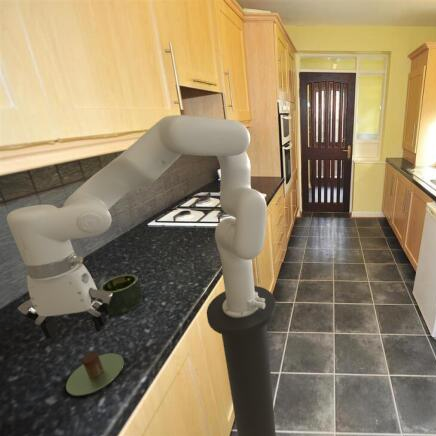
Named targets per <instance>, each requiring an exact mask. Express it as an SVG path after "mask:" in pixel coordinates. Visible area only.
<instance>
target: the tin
mask: <svg viewBox="0 0 436 436" xmlns="http://www.w3.org/2000/svg"><path fill="white" fill-rule="evenodd" d="M118 289H121V290H118ZM99 290H100V291H104V292H109V293H112V294H113V296H112V299H111V301H110V304H109V305H108V307H107V308H106V309H105V310H106V312H107V313H108V314H110V315H122V314H125V313H129V312H131V311H133V310H134V309H135V310H136V308H138V307H139V306H140V305H141V304H142V303H143V301H144V296H143V293H142V289H141V285H140V282H139V278H138V276H137V275H135V274H121V275H117V276H114V277H112V278H109V279H107V280H106V281H105V282H103V283H102V284H101V285H100V287H99Z"/></svg>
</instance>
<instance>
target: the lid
mask: <svg viewBox="0 0 436 436" xmlns="http://www.w3.org/2000/svg"><path fill="white" fill-rule="evenodd" d="M81 362H82V364H81V365H80V366H78V368H76V369H75V370H74V371H73V372H72V373H71V374H70V376H69V377H68V379H67V380H66V384H65V389H66V393H68V394H69V395H70V396H73V397H85V396H89V395H92V394H94V393H97V392H99V391H101V390H103V389H104V388H106V387H108V385H110V384H111V383H113V381H115V380H116V378H118V376H119V375H120V374H121V372H122V371H123V368H124V365H125V360H124V357H122V355H120V354H118V353H114V352H113V353H112V352H111V353H104V354H100V355H99V353H98V352H96V351H92V352H90V353H87V354H86V355H85V356H84V357H83V358H82V361H81Z"/></svg>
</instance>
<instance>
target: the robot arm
mask: <svg viewBox="0 0 436 436" xmlns="http://www.w3.org/2000/svg"><path fill="white" fill-rule="evenodd" d="M250 143H251V135H250V132H249V129H248V128H247V127H246V126H245V124H243V123H242V122H241V121H239V120H236V119H225V118H215V117H214V118H212V117H202V116H195V115H187V114H173V115H166V116H164V117H162V118H160V119H159V120H158V121H156V122H155V124H154V125H152V126H151V127H150V128H149V129H148V130H147V131H146V132H144V134H142V135H141V136H140V137H139V138H138V139H137V140H135V141H134V143H132V144H131V145H130V146H128V147H127V149H125V150H124V151H122V153H121V154H120V155H118V156H117V157H115V158H114V159H113V160H111V161H110V162H109V163H108V164H106V165H105V166H104V167H102V168H101V169H100V170H98V171H97V172H96V173H94V174H93V175H92V176H91V177H90V178H89V179H87V180H86V181H85V182H84V183H83V184H82V185H80V186H79V187H78V188H76V190H75V191H74V192H73V193H71V194H70V196H68V197H67V199H66V200H65V201H64V203H63V204H62V205H63V206H62V207H57V206H56V205H52V204H35V205H29V206H23V207H19V208H16V209H13V210H11V211H10V212H9V213H8V214H7V216H6V222H7V225H8V228H9V230H10V232H11V235H12V237H13V240H14V242H15V244H16V247H17V250H18V251H19V254H20V256H21V259H22V261H23V264H24V266H25V269H26V271H27V273H28V275H27V277H26V283H27V290H28V295H29V298H30V299H28V300H26V301H24V302H23V303H22V304H20V305H19V306H17V310H18V311H19V312H20V313H22V314H23V315H25V317H26V318H27V319H29V320H31V321H34V324H35V325H38V326H40V328H41V330H42V333H43V334H44V337H45V338H46V339H47V340H49V339H51V338H52V337H54V335H55V334H56V333H57V332H58V331H59V330H60V327H59V324H58V322H57V318H55V317H54V315H62V314H64V315H68V314H77V313H83V312H87V313H88V314H91V315H92V323H93V325H94V328H95V331H96V332H101V331H102V330H103V329H104V327H105V325H107V324H108V323H107V322H108V319H107V315H106V312H105V310H107V309H106V308H107V307H108V305H109V304H110V301H111V299H112V296H113V294H112V293H109V292H104V291H100V289H98V288H97V286H96V283H95V281H94V279H93V277H92V275H91V273H90V272H89V270H88V268H87V267H86V266H85V265H84V264H83V262H84V258H83V256H77V254H76V252H75V250H74V247H73V244H72V241H71V240H81V239H89V238H95V237H98V236H101V235H102V234H104V233H106V232H107V231H108V230H109V229H110V228H111V226H112V221H113V220H112V215H111V213H110V211H109V210H110V209H111V208H112V207H113V206H114V205H115V204H116V203H117V202H118V201H119V200H121V199H122V198H123V197H124V196H125V195H127V194H129V193H130V192H133V191H134V190H136V189H140V188H142V187H146V186H148V185H151V184H154V182H156V181H157V180H158V179H159V178H160V177H161V176H162V175H163V174H165V172H166V171H167V170H168V169H169V168H170V167H171V166H173V164H174V163H176V161H177V160H178V159H179V158H181V156H182V155H185V156H198V157H199V156H202V157H215V156H216V159H217V160H218V163H219V169H220V186H219V205H220V208H221V210H222V211H223V212H224V213H226V214H227V215H229V216H231V217H226V218H224V219H221V220H220V222H219V223H218V224H217V225H216V226H215V230H214V241H215V244H216V248H217V250H218V254H219V258H220V263H221V272H222V279H223V286H224V291H225V294H226V300H225V301H224V303H223V311H224V313H225V314H226V315H228V316H230V317H234V318H241V317H246V316H248V315H251V314H253V313H254V312H255V311H256V310H257V309H258V308H261V309H264V308H265V303H264V302H265V299H264V298H259V297H258V292H255V290H254V286H255V280H254V270H253V260H254V259H255V258H257V257H258V256H259V255H260V254H261V252H262V251H263V248H264V246H265V242H266V241H265V240H266V232H267V231H266V230H267V219H268V206H267V201H266V199H265V197H264V195H263V194H262V193H261V192H260V191H258V190H257V189H254V188H252V185H251V184H252V183H251V180H252V179H251V178H252V176H251V173H252V172H251V170H252V169H251V168H252V167H251V161H250V158H249V155H248V153H247V149H248V148H249V147H250ZM99 300H102V302H100V301H99ZM262 302H263V303H262ZM62 316H63V315H62Z"/></svg>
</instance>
